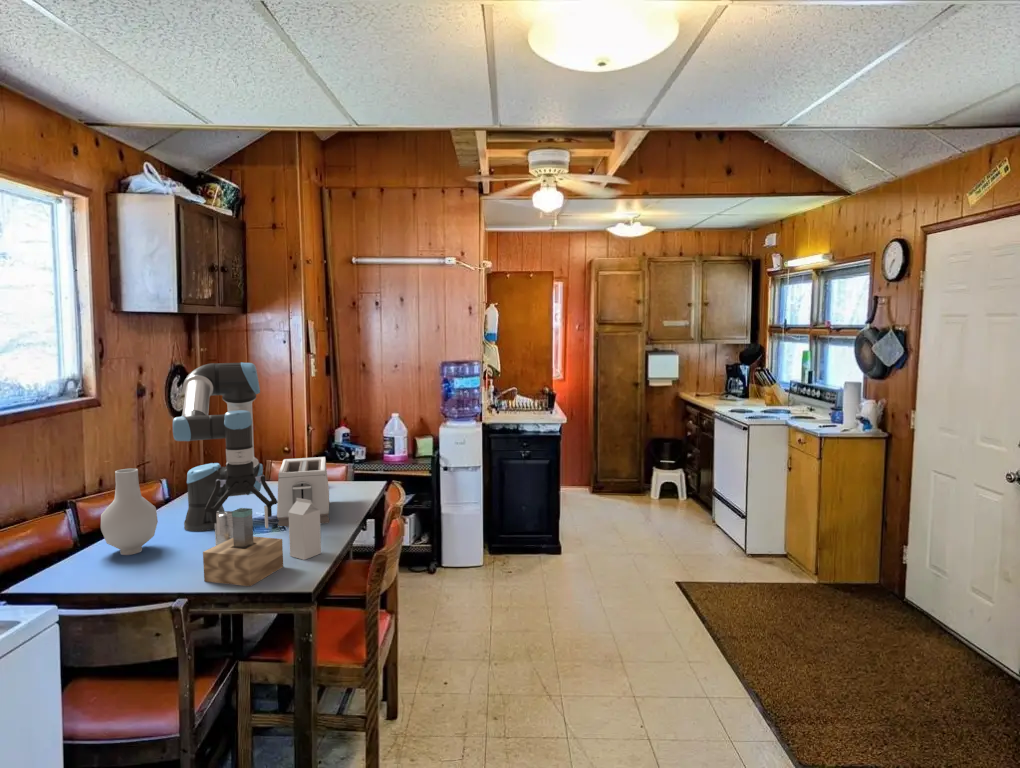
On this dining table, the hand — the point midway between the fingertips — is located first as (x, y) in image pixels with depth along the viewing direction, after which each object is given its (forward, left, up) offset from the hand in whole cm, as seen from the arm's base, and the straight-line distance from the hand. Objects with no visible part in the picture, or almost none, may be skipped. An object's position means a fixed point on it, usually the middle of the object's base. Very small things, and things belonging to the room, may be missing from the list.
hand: (243, 530), depth 195 cm
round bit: (-17, +13, -14) cm, 25 cm away
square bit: (0, 0, -10) cm, 10 cm away
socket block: (0, 0, -14) cm, 14 cm away
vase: (-51, +8, -14) cm, 53 cm away
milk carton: (+9, +19, -14) cm, 25 cm away
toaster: (-18, +60, -14) cm, 64 cm away
